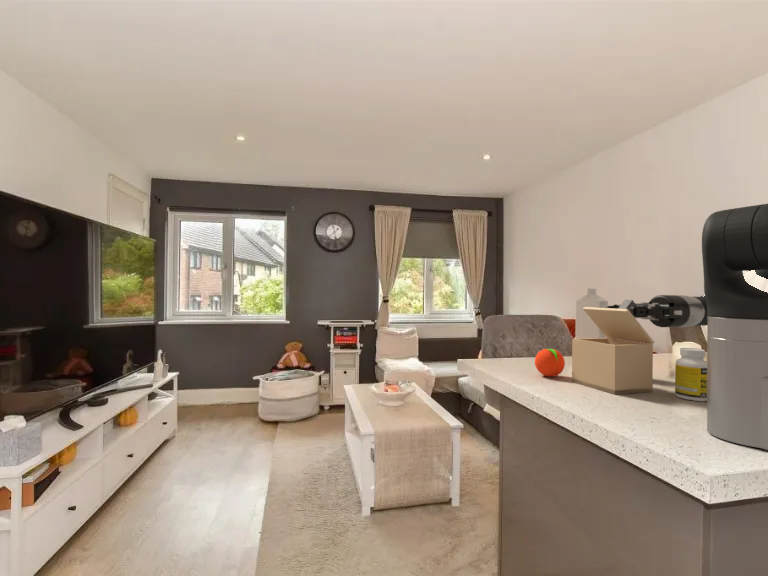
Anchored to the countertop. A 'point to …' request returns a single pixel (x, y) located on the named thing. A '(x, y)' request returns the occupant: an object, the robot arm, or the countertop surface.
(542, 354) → the clementine
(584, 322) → the milk
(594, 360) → the carton
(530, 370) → the countertop surface
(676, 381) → the supplement bottle
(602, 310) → the lid
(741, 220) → the robot arm
